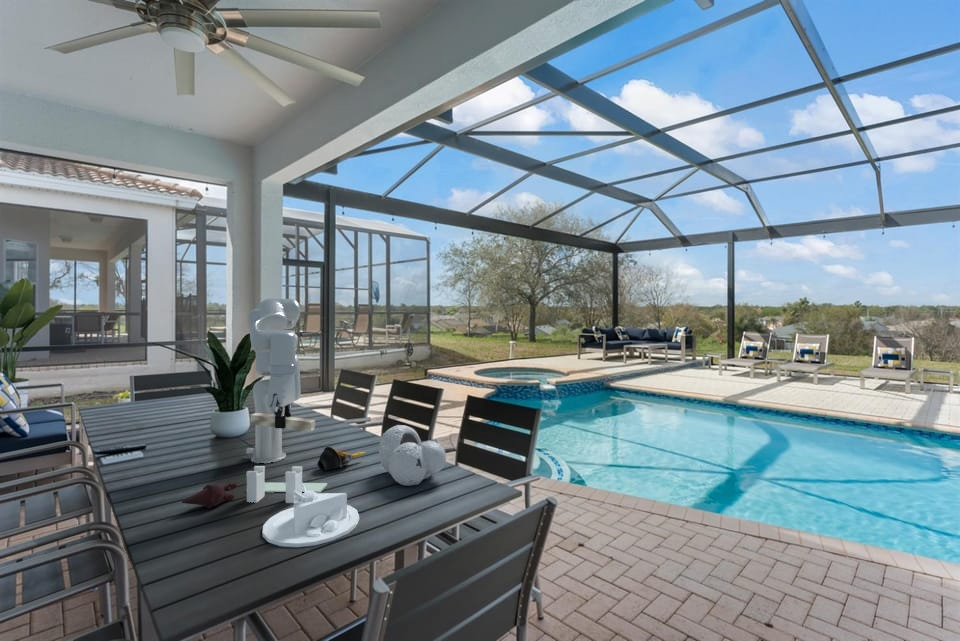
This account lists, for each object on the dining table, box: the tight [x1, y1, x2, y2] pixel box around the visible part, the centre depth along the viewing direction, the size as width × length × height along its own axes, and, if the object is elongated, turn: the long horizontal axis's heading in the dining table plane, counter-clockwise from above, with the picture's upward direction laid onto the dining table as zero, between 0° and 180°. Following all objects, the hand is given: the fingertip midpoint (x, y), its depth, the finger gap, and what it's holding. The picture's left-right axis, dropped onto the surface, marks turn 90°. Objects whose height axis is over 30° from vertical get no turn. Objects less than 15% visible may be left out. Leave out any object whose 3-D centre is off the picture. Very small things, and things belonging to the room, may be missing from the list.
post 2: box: [284, 465, 303, 504], centre depth 142 cm, size 3×5×10 cm, turn 179°
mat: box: [245, 482, 328, 493], centre depth 151 cm, size 24×7×1 cm, turn 89°
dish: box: [262, 480, 360, 548], centre depth 126 cm, size 25×25×11 cm
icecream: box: [181, 481, 238, 510], centre depth 137 cm, size 7×7×15 cm
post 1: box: [245, 465, 266, 504], centre depth 142 cm, size 3×5×10 cm, turn 179°
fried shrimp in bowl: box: [317, 446, 366, 472], centre depth 173 cm, size 9×11×18 cm
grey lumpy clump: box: [378, 424, 447, 487], centre depth 161 cm, size 20×25×22 cm
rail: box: [249, 412, 316, 432], centre depth 148 cm, size 20×3×3 cm, turn 88°
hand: (283, 426), depth 148 cm, fingers closed on rail, 3 cm apart
